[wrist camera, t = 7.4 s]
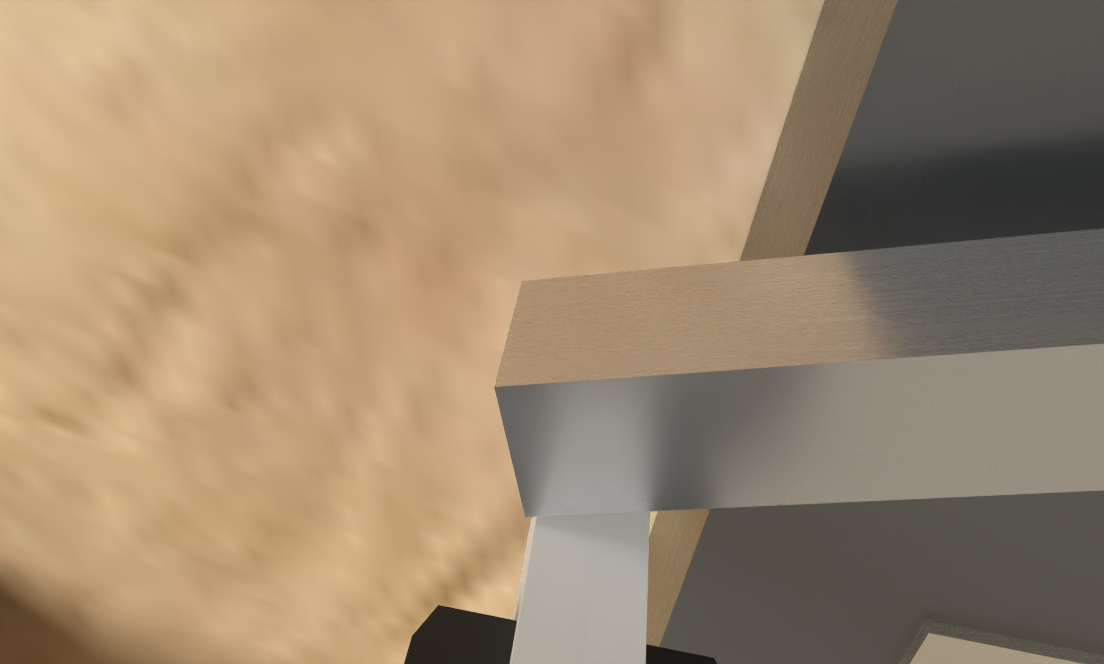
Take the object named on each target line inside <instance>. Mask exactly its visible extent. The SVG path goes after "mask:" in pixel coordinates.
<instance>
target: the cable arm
mask: <svg viewBox="0 0 1104 664" xmlns="http://www.w3.org/2000/svg"><path fill="white" fill-rule="evenodd" d="M495 392H496V396H497V400H498V404H499V408H500V413H501V417H502V421H503V425H504V429H505V434H506V438H507V442H508V446H509V450H510V455H511V459H512V463H513V467H514V471H515V475H516V480H517V484H518V488H519V492H520V496H521V501H522V505H523V509H524V513H525V517H536V516H558V515H580V514H601V513H623V512H645V511H667V510H688V509H710V508H732V507H754V506H775V505H797V504H819V503H841V502H862V501H884V500H906V499H928V498H949V497H971V496H993V495H1015V494H1036V493H1058V492H1080V491H1102V490H1104V228H1102V229H1091V230H1080V231H1069V232H1058V233H1047V234H1036V235H1025V236H1014V237H1003V238H992V239H981V240H970V241H959V242H948V243H937V244H926V245H915V246H904V247H893V248H882V249H871V250H860V251H849V252H838V253H827V254H816V255H805V256H794V257H783V258H772V259H761V260H750V261H739V262H728V263H717V264H706V265H695V266H684V267H673V268H662V269H651V270H640V271H629V272H618V273H607V274H596V275H585V276H574V277H563V278H552V279H541V280H530V281H522V283H521V287H520V291H519V295H518V298H517V302H516V306H515V310H514V314H513V318H512V321H511V325H510V329H509V333H508V337H507V341H506V344H505V348H504V352H503V356H502V360H501V364H500V367H499V371H498V375H497V379H496V383H495Z"/></svg>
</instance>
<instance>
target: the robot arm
mask: <svg viewBox="0 0 1104 664" xmlns="http://www.w3.org/2000/svg"><path fill="white" fill-rule="evenodd" d="M649 521H650V511H645V512H623V513H601V514H580V515H558V516H536V517H532V520H531V525H530V529H529V534H528V539H527V545H526V551H525V556H524V562H523V567H522V573H521V579H520V584H519V590H518V595H517V601H516V607H515V612H514V618H513V620H510V619H505V618H500V617H495V616H490V615H485V614H480V613H475V612H470V611H465V610H460V609H455V608H450V607H445V606H440V605H438V606H437V607H436V609H435V610H434V611H433V612H432V613H431V615H430V616H429V617H428V618H427V619H426V620H425V622H424V623H423V624H422V625H421V626H420V627H419V629H418V630H417V631H416V632H415V633H414V635H413V636H412V638H411V642H410V645H409V649H408V652H407V656H406V659H405V663H404V664H717V662H716V660H715V658H712V657H707V656H702V655H697V654H692V653H687V652H682V651H677V650H672V649H667V648H662V647H657V646H652V645H647V644H646V631H647V594H648V558H649Z"/></svg>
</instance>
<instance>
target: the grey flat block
mask: <svg viewBox="0 0 1104 664" xmlns="http://www.w3.org/2000/svg"><path fill="white" fill-rule="evenodd" d="M1102 228H1104V0H825V2H824V5H823V8H822V11H821V14H820V17H819V20H818V23H817V26H816V29H815V32H814V36H813V39H812V42H811V45H810V48H809V51H808V54H807V57H806V60H805V63H804V66H803V69H802V72H801V75H800V78H799V81H798V85H797V88H796V91H795V94H794V97H793V100H792V103H791V106H790V109H789V112H788V115H787V118H786V121H785V124H784V127H783V130H782V134H781V137H780V140H779V143H778V146H777V149H776V152H775V155H774V158H773V161H772V164H771V167H770V170H769V173H768V176H767V179H766V183H765V186H764V189H763V192H762V195H761V198H760V201H759V204H758V207H757V210H756V213H755V216H754V219H753V222H752V225H751V228H750V232H749V235H748V238H747V241H746V244H745V247H744V250H743V253H742V256H741V259H740V261H750V260H761V259H772V258H783V257H794V256H805V255H816V254H827V253H838V252H849V251H860V250H871V249H882V248H893V247H904V246H915V245H926V244H937V243H948V242H959V241H970V240H981V239H992V238H1003V237H1014V236H1025V235H1036V234H1047V233H1058V232H1069V231H1080V230H1091V229H1102ZM646 644H647V645H652V646H657V647H662V648H667V649H672V650H677V651H682V652H687V653H692V654H697V655H702V656H707V657H712V658H715V660H716V662H717V664H1104V490H1102V491H1080V492H1058V493H1036V494H1015V495H993V496H971V497H949V498H928V499H906V500H884V501H862V502H841V503H819V504H797V505H775V506H754V507H732V508H710V509H688V510H667V511H658V513H657V516H656V519H655V522H654V526H653V529H652V532H651V535H650V538H649V558H648V594H647V631H646Z"/></svg>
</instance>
